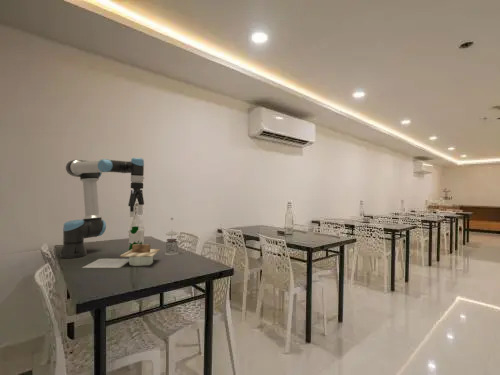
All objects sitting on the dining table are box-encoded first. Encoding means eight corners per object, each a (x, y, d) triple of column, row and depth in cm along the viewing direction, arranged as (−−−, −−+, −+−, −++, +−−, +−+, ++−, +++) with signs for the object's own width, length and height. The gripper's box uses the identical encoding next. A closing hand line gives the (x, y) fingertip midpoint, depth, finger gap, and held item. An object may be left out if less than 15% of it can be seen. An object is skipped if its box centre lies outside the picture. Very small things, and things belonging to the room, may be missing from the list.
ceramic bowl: (126, 266, 171) (126, 256, 171) (134, 260, 184) (134, 251, 184) (148, 266, 171) (148, 256, 171) (155, 260, 184) (155, 251, 184)
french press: (166, 251, 210) (167, 216, 210) (183, 252, 210) (183, 217, 210) (162, 254, 200) (162, 218, 200) (179, 255, 200) (179, 218, 200)
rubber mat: (82, 268, 166) (82, 267, 166) (99, 259, 187) (99, 258, 187) (119, 268, 167) (119, 267, 167) (133, 259, 188) (133, 258, 188)
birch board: (120, 257, 168) (120, 247, 168) (131, 250, 186) (131, 242, 186) (152, 256, 169) (152, 247, 169) (160, 250, 187) (160, 241, 187)
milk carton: (126, 257, 191) (126, 227, 191) (133, 254, 200) (133, 225, 200) (139, 258, 190) (139, 227, 190) (145, 255, 199) (146, 225, 199)
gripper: (135, 182, 175) (134, 218, 175) (149, 182, 200) (148, 213, 200) (123, 182, 175) (122, 217, 175) (138, 182, 200) (137, 213, 200)
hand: (136, 215), depth 188 cm, fingers open, 13 cm apart
